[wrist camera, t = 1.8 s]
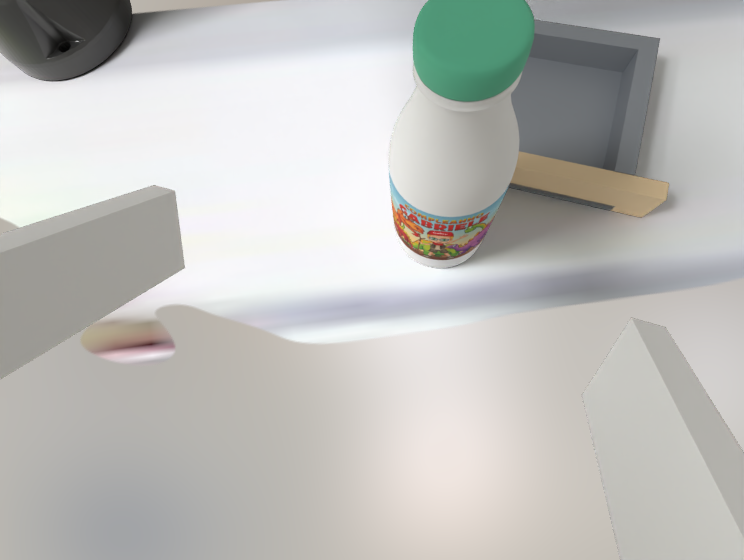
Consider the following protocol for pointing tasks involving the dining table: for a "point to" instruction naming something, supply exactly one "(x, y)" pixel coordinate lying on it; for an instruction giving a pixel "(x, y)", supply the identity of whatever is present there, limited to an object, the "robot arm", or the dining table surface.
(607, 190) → the tray
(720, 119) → the dining table surface
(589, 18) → the dining table surface
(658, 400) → the robot arm
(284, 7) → the dining table surface
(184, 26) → the dining table surface
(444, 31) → the milk bottle
